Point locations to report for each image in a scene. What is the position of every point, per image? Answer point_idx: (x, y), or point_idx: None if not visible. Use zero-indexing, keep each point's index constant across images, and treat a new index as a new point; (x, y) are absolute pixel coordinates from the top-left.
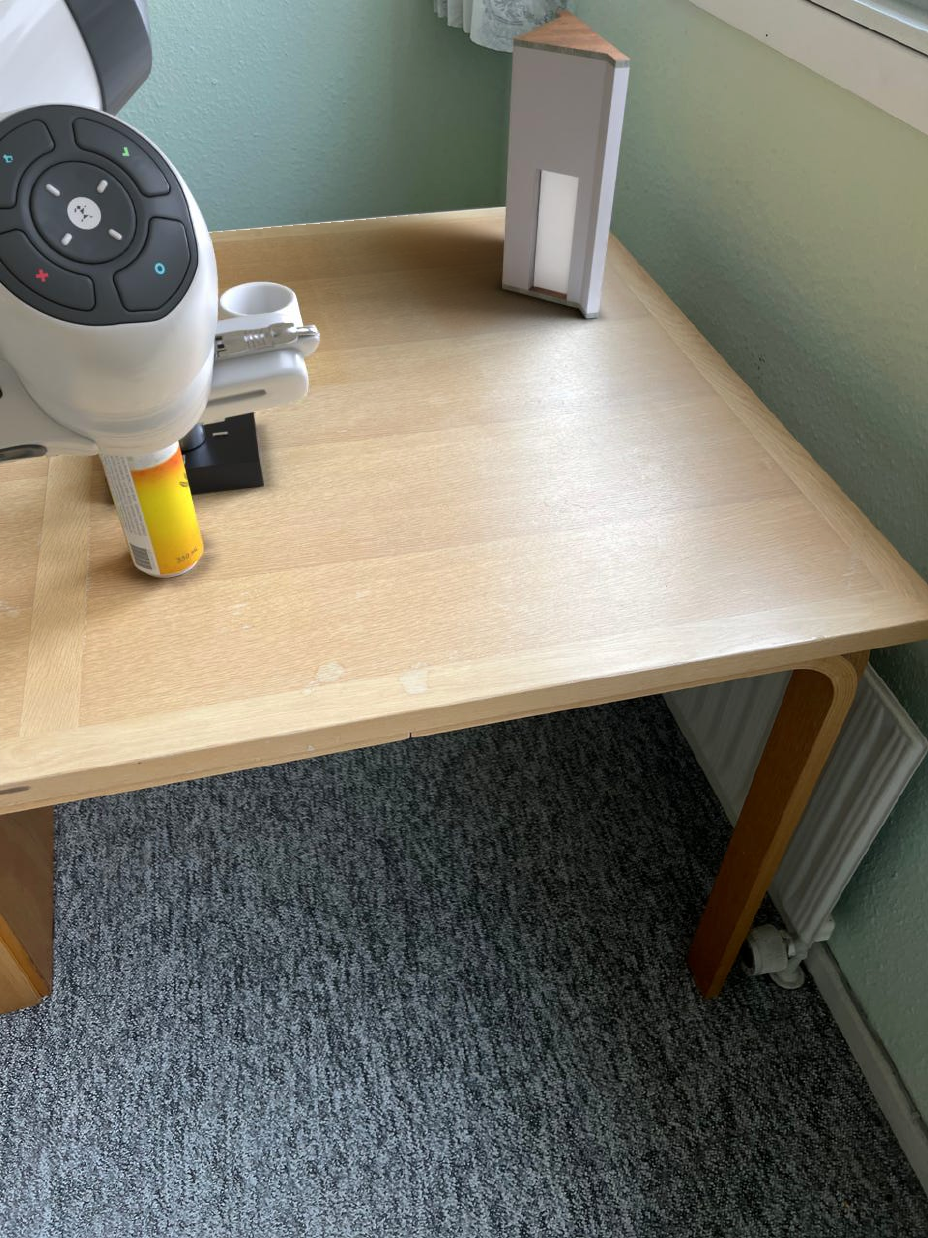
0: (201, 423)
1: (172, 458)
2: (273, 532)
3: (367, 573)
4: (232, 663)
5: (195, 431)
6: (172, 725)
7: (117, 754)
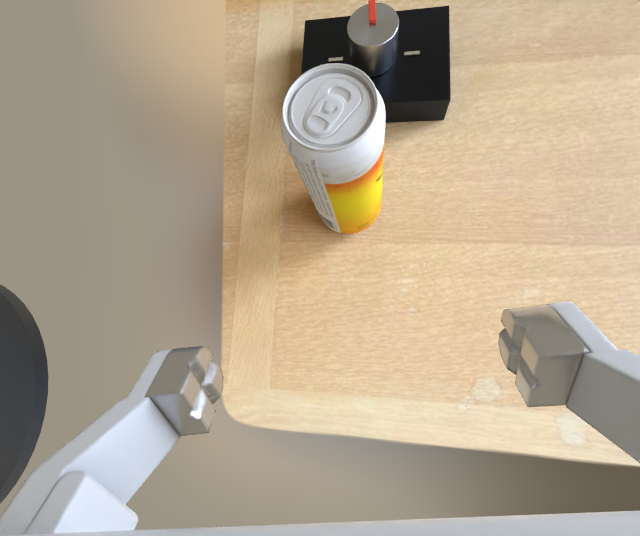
0: (503, 358)
1: (375, 164)
2: (447, 188)
3: (539, 265)
4: (396, 352)
5: (389, 56)
6: (341, 410)
7: (297, 427)
